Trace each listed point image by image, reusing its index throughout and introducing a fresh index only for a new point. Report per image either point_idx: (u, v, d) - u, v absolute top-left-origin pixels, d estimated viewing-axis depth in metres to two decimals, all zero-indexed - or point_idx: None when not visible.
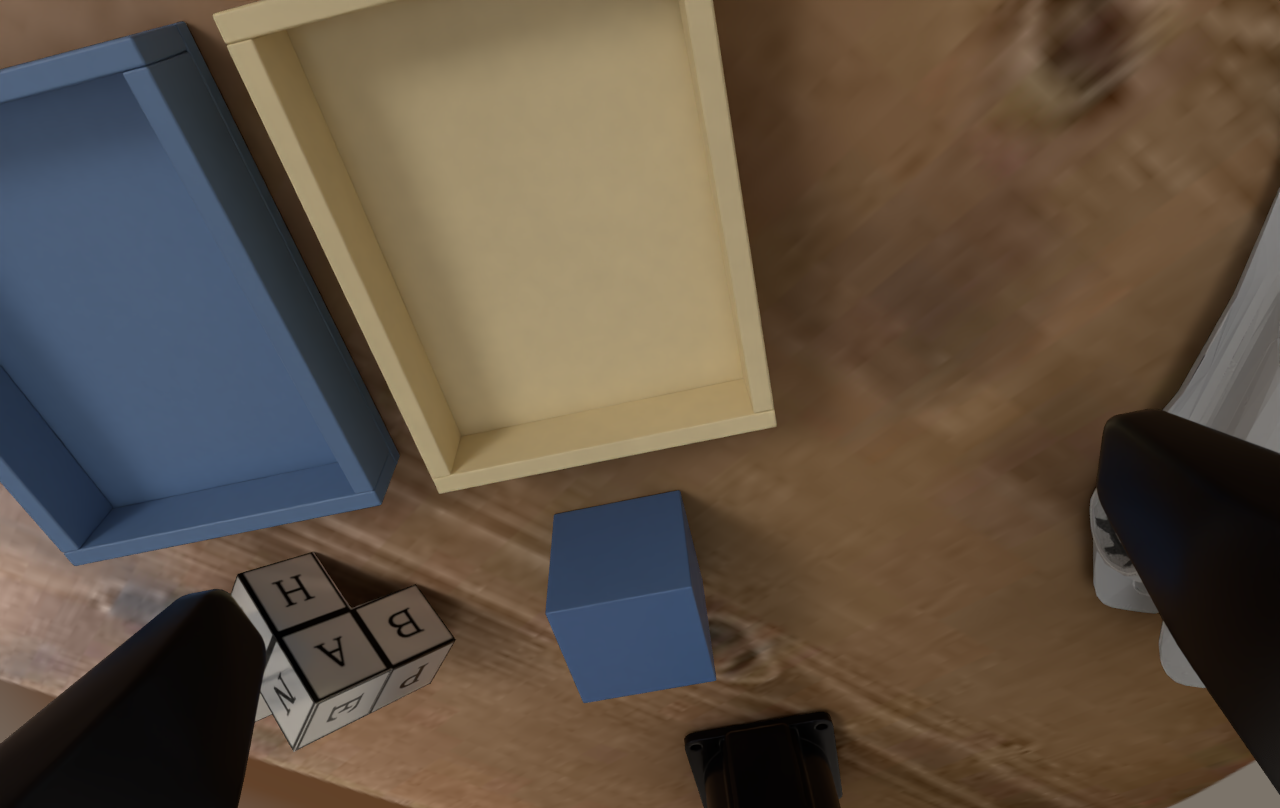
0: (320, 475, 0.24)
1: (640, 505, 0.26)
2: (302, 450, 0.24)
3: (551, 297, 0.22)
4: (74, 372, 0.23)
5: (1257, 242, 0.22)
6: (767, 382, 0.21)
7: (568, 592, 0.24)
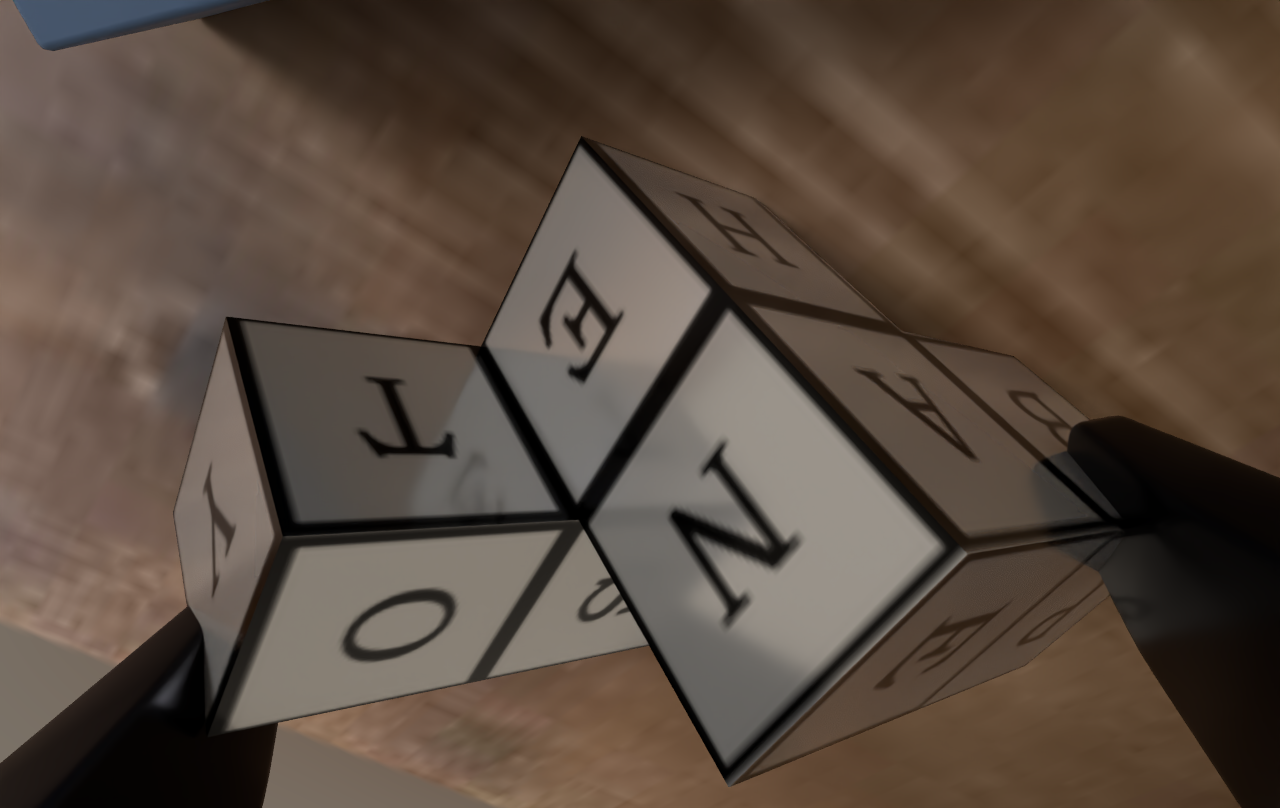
0: None
1: None
2: None
3: None
4: None
5: None
6: None
7: None
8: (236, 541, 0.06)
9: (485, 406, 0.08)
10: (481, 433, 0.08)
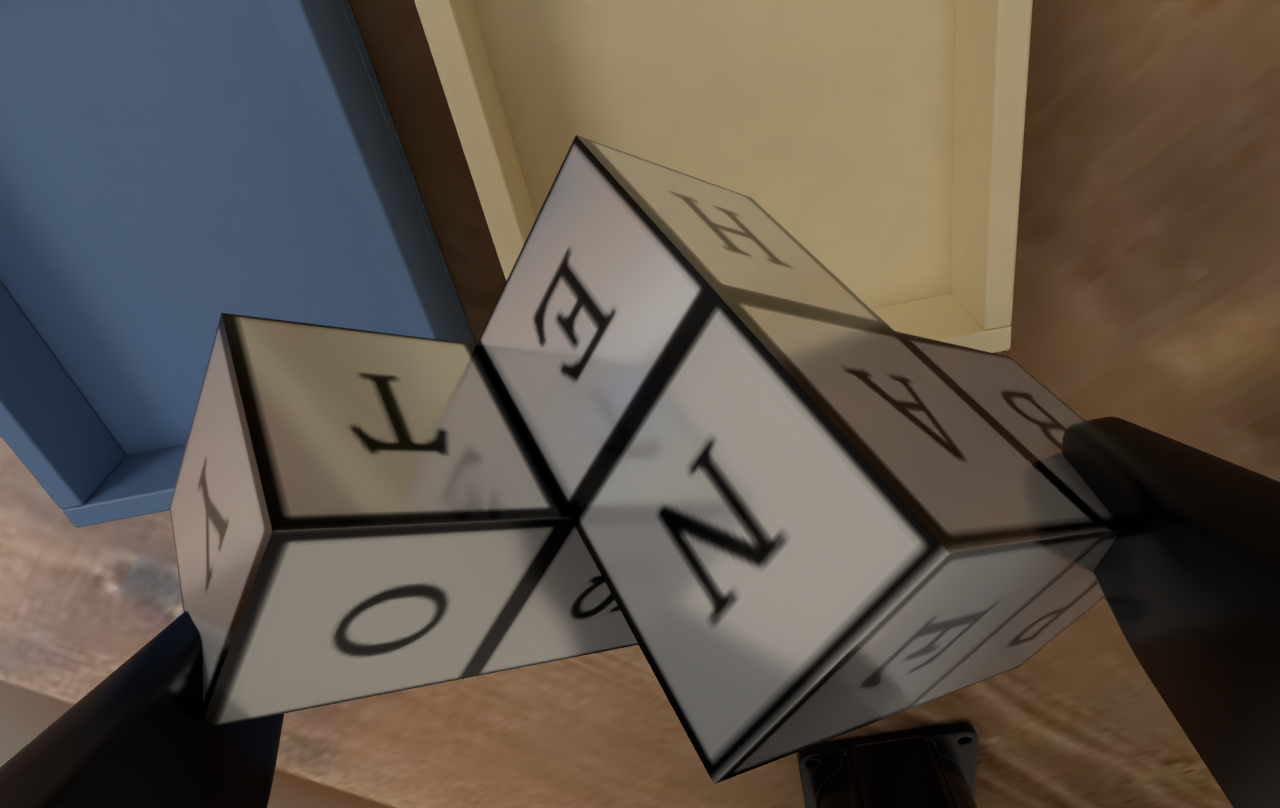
0: None
1: None
2: None
3: (718, 173, 0.16)
4: (80, 269, 0.17)
5: None
6: (1011, 286, 0.16)
7: None
8: (228, 535, 0.06)
9: (479, 403, 0.08)
10: (474, 430, 0.08)
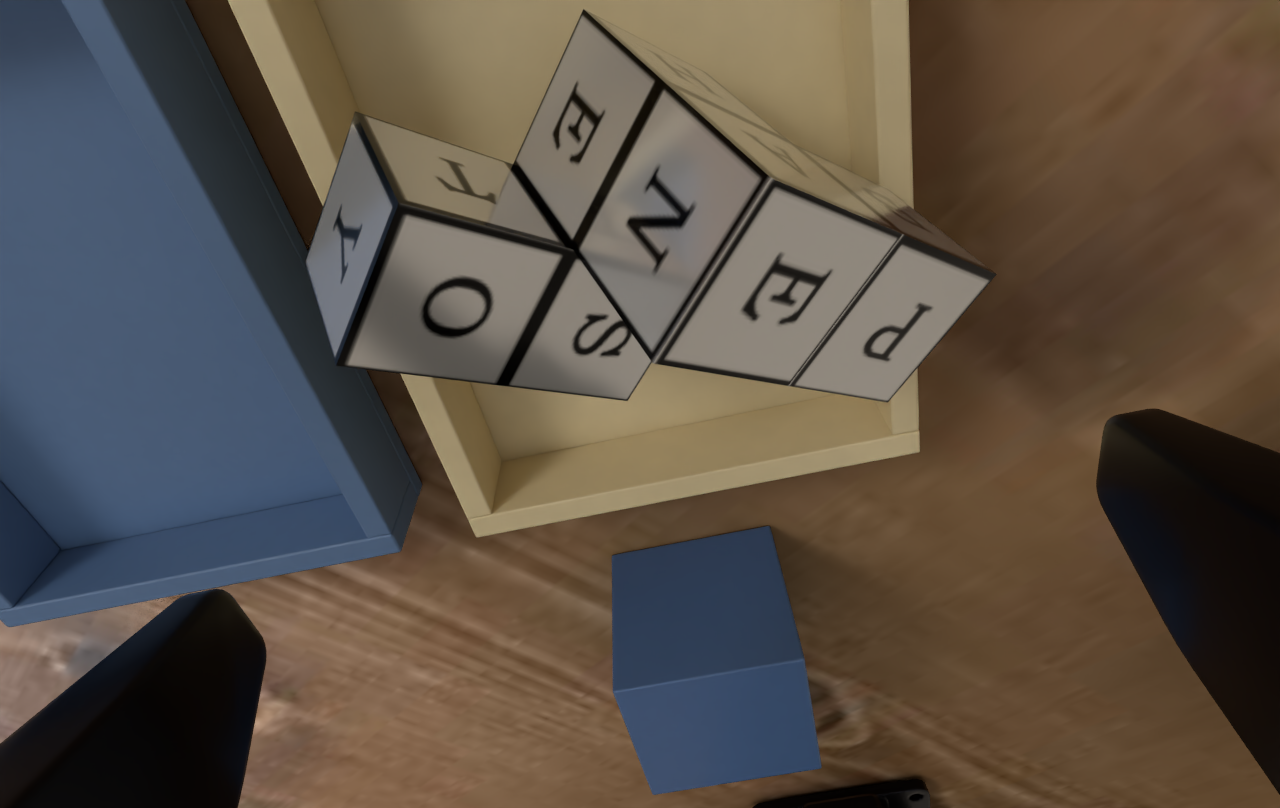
0: (322, 511, 0.19)
1: (720, 545, 0.21)
2: (299, 479, 0.19)
3: None
4: (1, 381, 0.17)
5: None
6: (915, 395, 0.16)
7: (640, 663, 0.18)
8: (362, 233, 0.11)
9: (515, 189, 0.12)
10: (512, 199, 0.12)
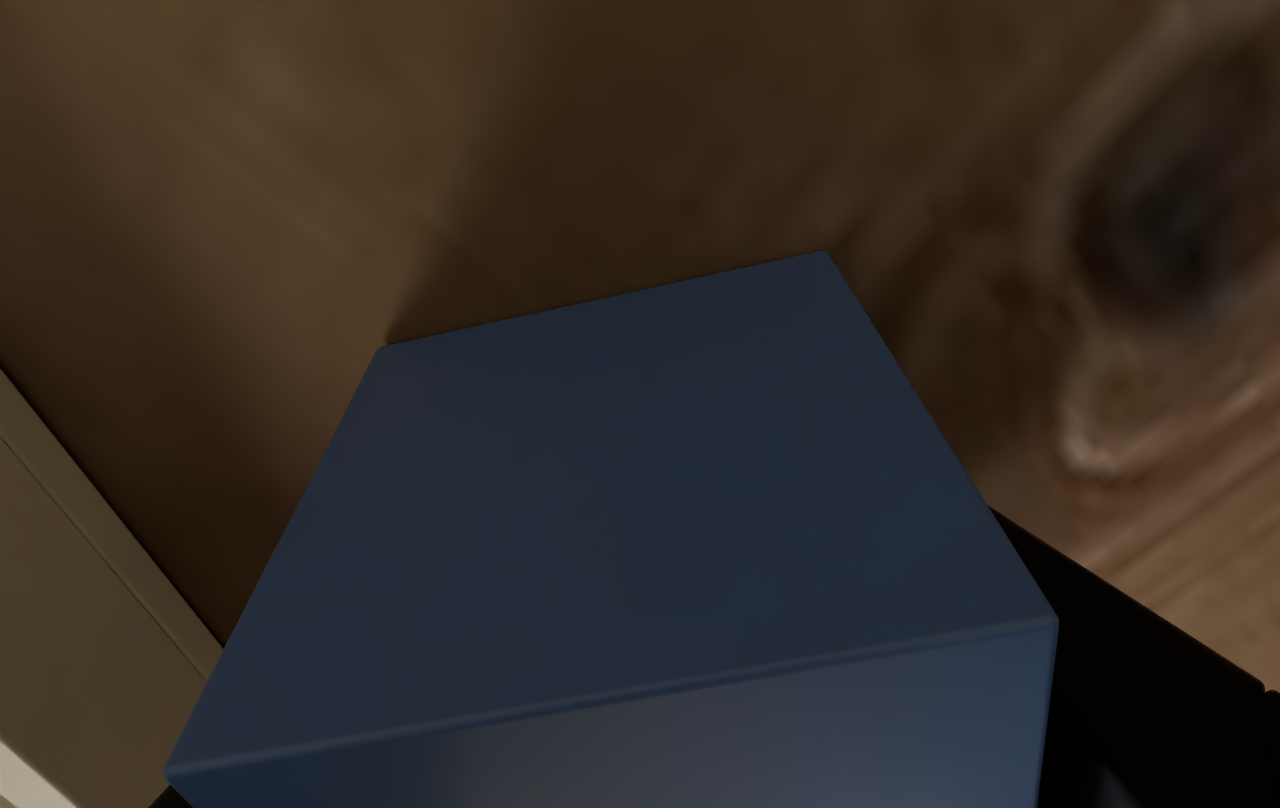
0: None
1: None
2: None
3: None
4: None
5: None
6: None
7: None
8: None
9: None
10: None
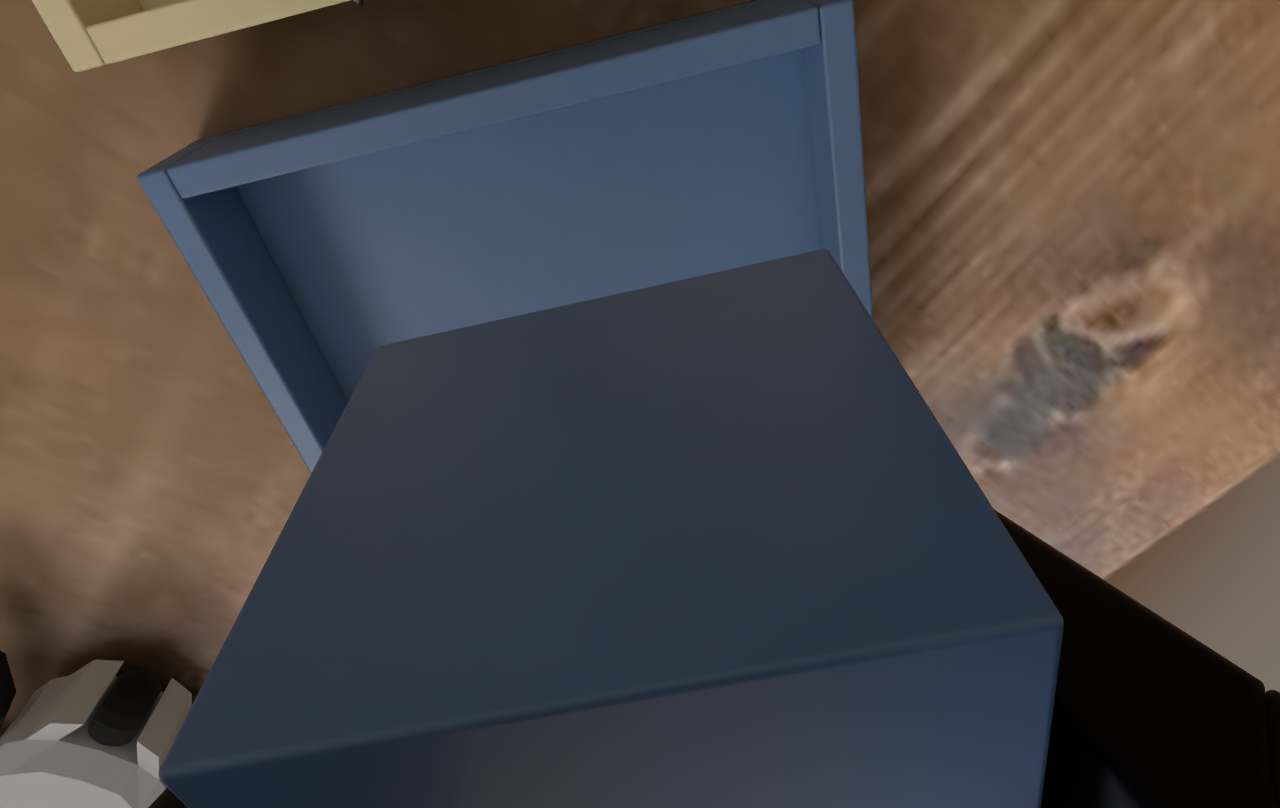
0: (812, 116, 0.15)
1: None
2: (777, 140, 0.16)
3: None
4: None
5: None
6: None
7: None
8: None
9: None
10: None
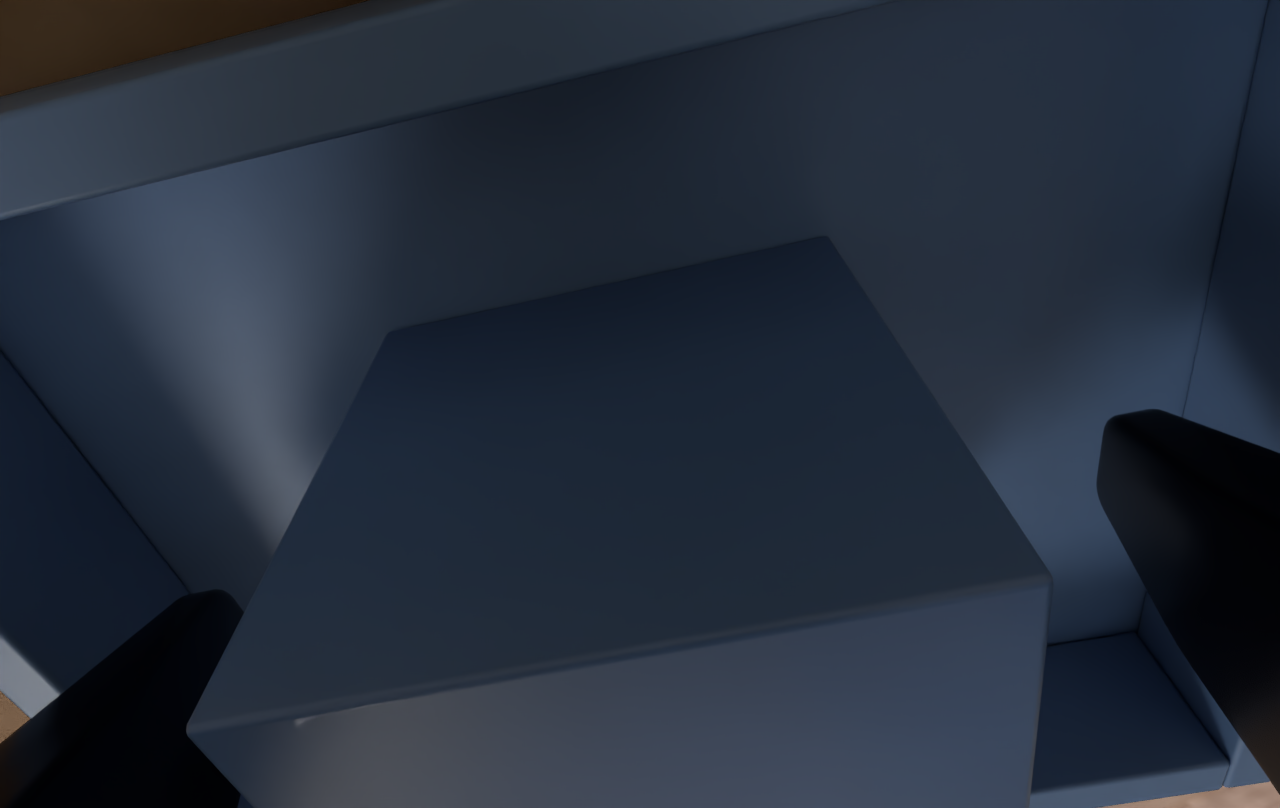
0: None
1: None
2: (1162, 143, 0.07)
3: None
4: None
5: None
6: None
7: None
8: None
9: None
10: None
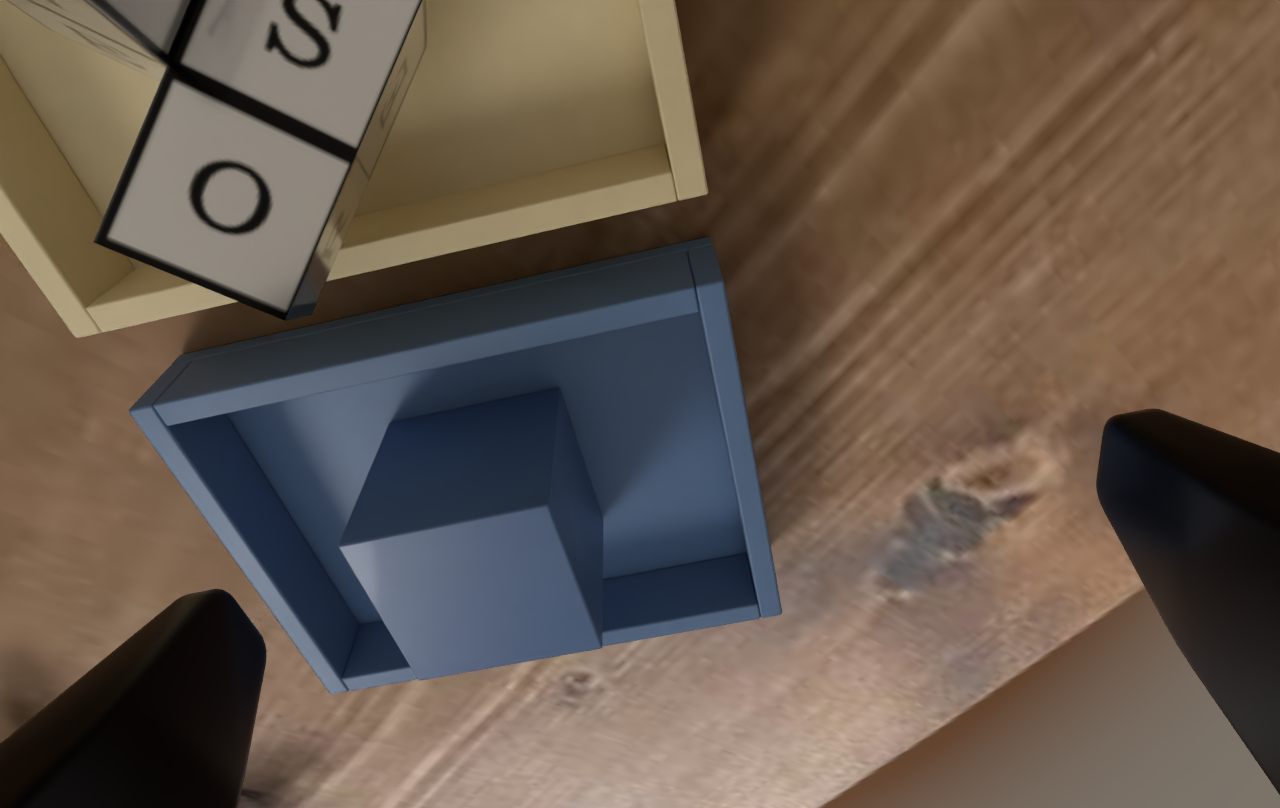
0: (705, 344, 0.18)
1: None
2: (679, 355, 0.19)
3: None
4: None
5: None
6: None
7: None
8: None
9: None
10: None
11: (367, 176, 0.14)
